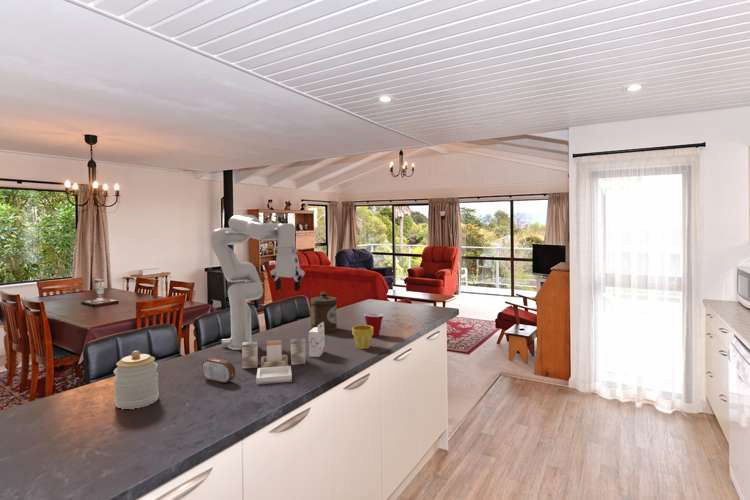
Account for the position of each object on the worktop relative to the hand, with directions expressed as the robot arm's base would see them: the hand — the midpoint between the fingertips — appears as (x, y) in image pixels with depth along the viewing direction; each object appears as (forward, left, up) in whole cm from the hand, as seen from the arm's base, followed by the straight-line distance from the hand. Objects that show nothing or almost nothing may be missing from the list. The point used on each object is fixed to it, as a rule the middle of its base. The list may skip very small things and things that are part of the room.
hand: (287, 290), depth 183 cm
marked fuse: (-6, -6, -31) cm, 32 cm away
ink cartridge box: (+13, +4, -31) cm, 34 cm away
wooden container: (+21, +48, -31) cm, 61 cm away
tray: (-6, -22, -31) cm, 39 cm away
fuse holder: (-6, -6, -31) cm, 32 cm away
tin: (-27, -20, -31) cm, 46 cm away
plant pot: (+36, +10, -31) cm, 49 cm away
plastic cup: (+46, +29, -31) cm, 63 cm away
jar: (-51, -34, -31) cm, 69 cm away
